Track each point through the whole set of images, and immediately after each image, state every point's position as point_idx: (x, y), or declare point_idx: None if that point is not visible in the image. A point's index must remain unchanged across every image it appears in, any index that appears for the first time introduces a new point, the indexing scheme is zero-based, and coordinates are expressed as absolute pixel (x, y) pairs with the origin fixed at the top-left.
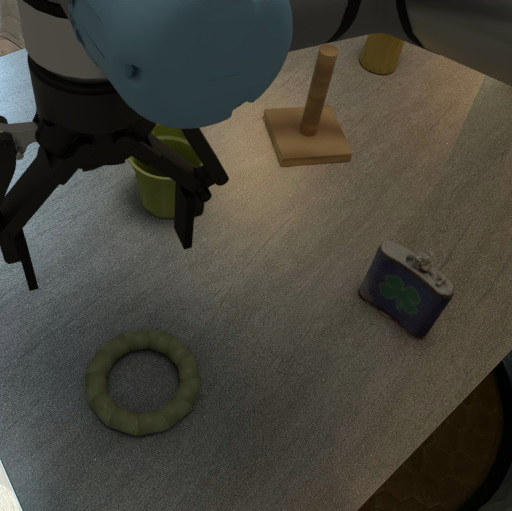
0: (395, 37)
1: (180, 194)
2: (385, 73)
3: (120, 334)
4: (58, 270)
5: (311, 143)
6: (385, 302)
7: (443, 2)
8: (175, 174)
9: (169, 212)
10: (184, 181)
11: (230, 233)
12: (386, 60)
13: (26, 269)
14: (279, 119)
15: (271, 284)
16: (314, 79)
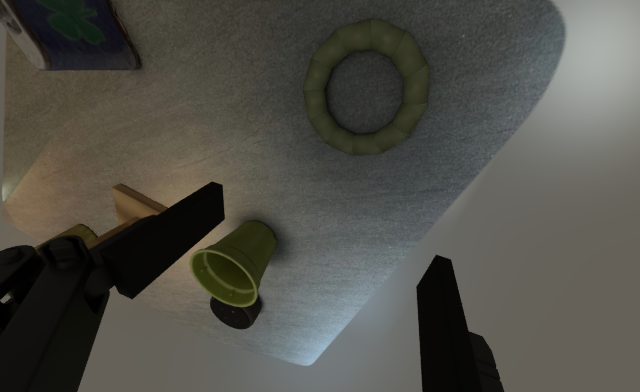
0: None
1: (139, 270)
2: (83, 226)
3: (354, 153)
4: (364, 237)
5: (139, 212)
6: (109, 31)
7: None
8: (17, 360)
9: (259, 228)
10: (46, 314)
11: (225, 184)
12: (73, 234)
13: (458, 308)
14: None
15: (210, 121)
16: None
